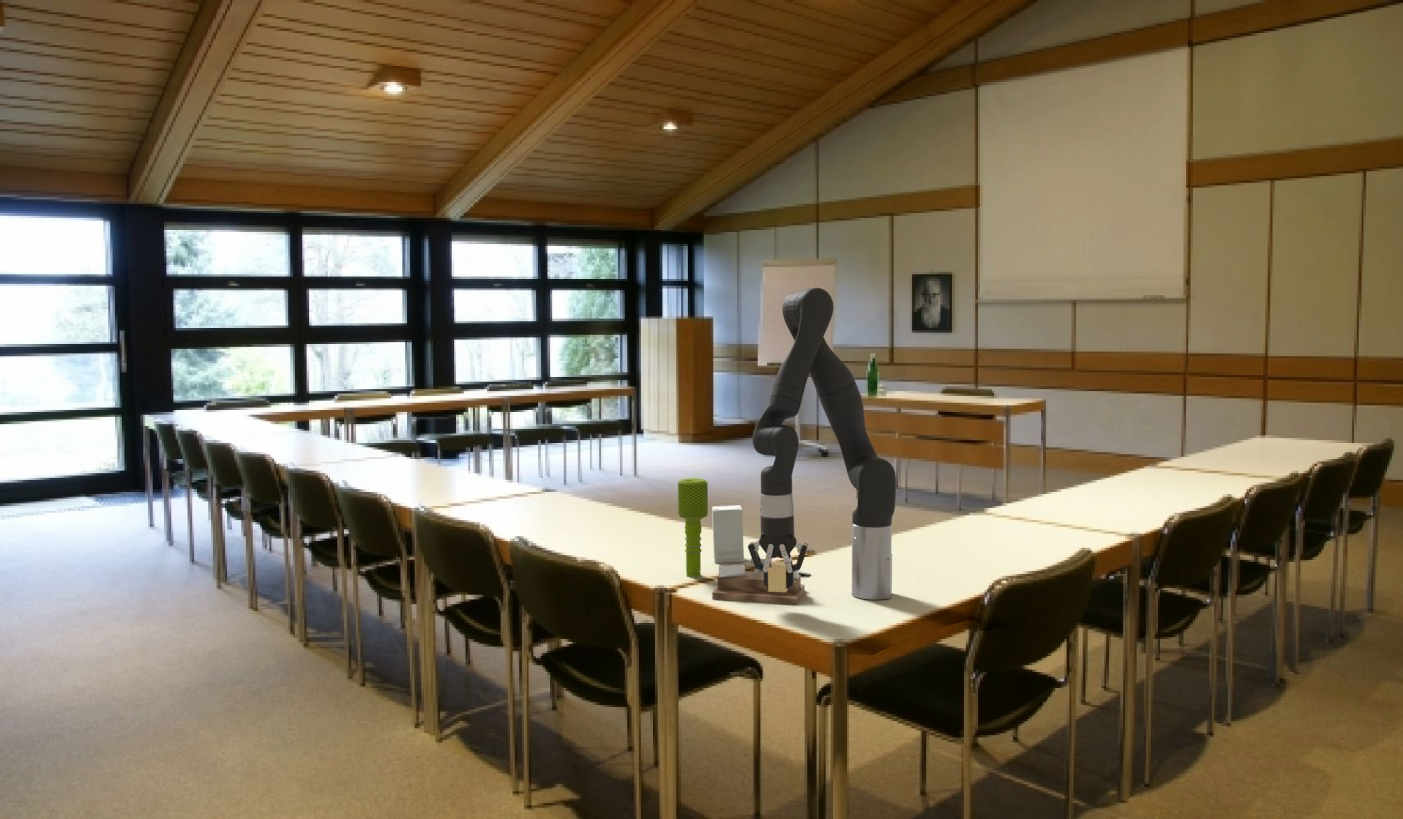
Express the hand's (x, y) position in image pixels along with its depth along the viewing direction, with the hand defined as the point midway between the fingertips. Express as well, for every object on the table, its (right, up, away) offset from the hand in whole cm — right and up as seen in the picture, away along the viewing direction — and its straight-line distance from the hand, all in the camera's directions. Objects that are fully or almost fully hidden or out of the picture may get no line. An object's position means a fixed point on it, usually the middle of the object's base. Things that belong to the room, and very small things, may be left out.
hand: (778, 587), depth 228 cm
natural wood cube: (0, 0, 0) cm, 0 cm away
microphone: (-19, -3, +32) cm, 37 cm away
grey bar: (-4, 0, +12) cm, 13 cm away
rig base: (-4, -4, +13) cm, 14 cm away
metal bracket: (+1, -3, +31) cm, 32 cm away
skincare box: (-10, -1, +47) cm, 48 cm away
